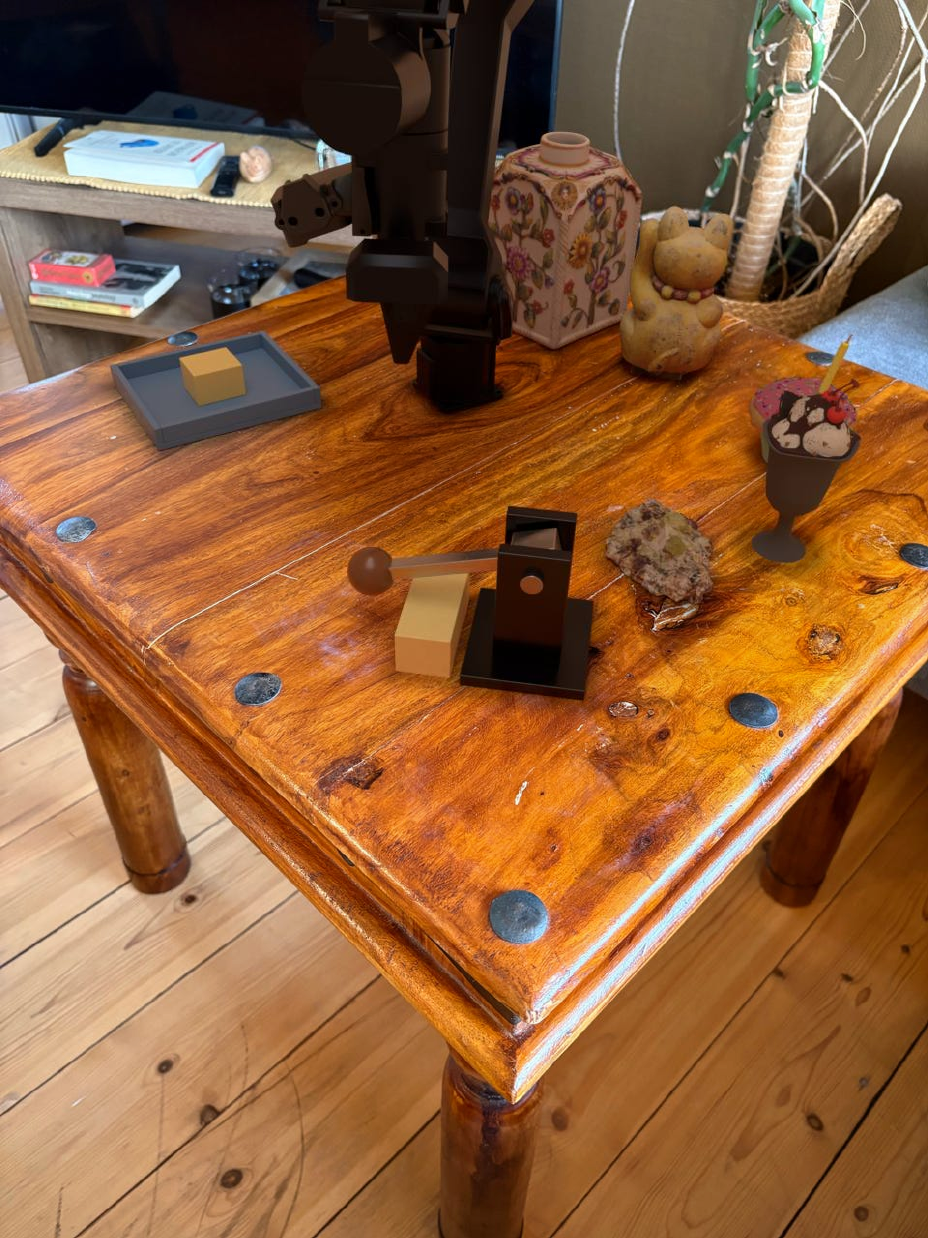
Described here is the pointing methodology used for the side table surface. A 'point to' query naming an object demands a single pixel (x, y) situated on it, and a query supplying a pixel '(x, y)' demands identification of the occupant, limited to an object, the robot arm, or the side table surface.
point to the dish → (181, 420)
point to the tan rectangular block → (432, 624)
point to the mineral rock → (662, 552)
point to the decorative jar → (565, 237)
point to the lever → (433, 562)
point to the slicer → (531, 616)
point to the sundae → (802, 464)
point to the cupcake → (770, 394)
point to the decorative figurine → (675, 295)
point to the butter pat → (212, 376)
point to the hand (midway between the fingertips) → (401, 362)
